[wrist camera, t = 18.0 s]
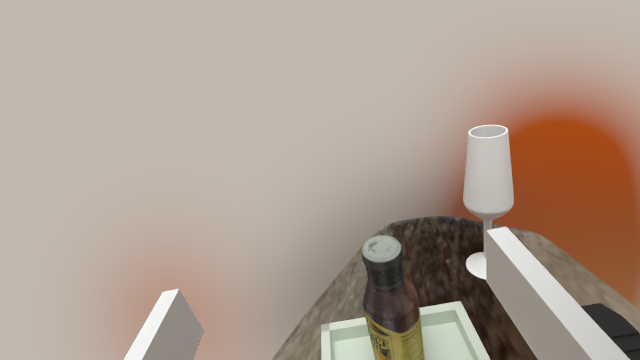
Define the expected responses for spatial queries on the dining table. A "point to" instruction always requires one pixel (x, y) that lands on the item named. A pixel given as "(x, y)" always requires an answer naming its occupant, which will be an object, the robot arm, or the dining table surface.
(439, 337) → the tray
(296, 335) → the dining table surface
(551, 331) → the robot arm
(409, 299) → the sauce bottle
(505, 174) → the champagne flute
